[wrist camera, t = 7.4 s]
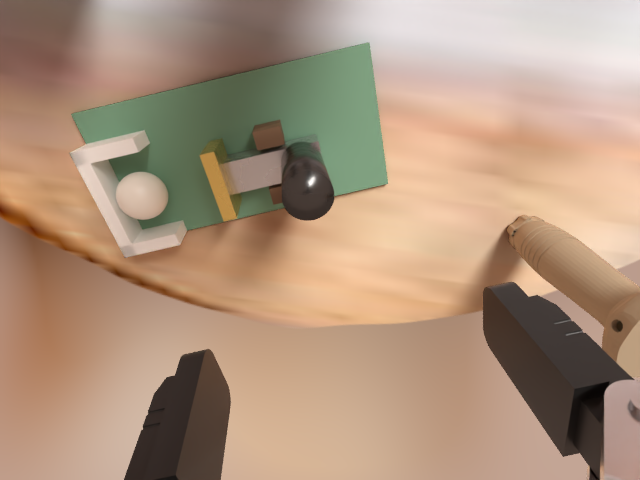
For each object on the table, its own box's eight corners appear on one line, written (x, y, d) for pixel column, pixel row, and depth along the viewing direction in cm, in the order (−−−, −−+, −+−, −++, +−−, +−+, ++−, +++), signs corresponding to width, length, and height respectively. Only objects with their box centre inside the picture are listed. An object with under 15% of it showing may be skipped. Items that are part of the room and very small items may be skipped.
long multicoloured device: (312, 116, 29) (325, 147, 20) (325, 178, 31) (341, 228, 23) (209, 141, 29) (180, 181, 21) (230, 201, 31) (212, 258, 23)
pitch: (73, 113, 28) (71, 114, 27) (368, 42, 27) (369, 42, 27) (137, 240, 33) (135, 242, 32) (386, 182, 32) (388, 183, 32)
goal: (88, 142, 29) (69, 153, 26) (146, 128, 29) (132, 137, 26) (137, 240, 33) (125, 257, 30) (188, 228, 33) (180, 245, 30)
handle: (485, 255, 37) (600, 374, 24) (512, 193, 34) (659, 290, 21) (529, 260, 38) (664, 379, 24) (559, 201, 35) (730, 298, 22)
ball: (160, 169, 27) (153, 161, 30) (108, 187, 26) (105, 177, 29) (179, 214, 29) (170, 202, 32) (131, 232, 28) (126, 219, 30)
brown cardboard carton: (254, 125, 29) (252, 132, 27) (280, 119, 29) (280, 126, 27) (273, 193, 32) (273, 204, 29) (297, 187, 32) (298, 198, 29)
